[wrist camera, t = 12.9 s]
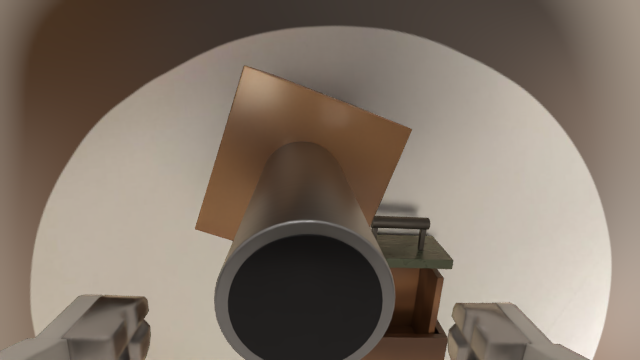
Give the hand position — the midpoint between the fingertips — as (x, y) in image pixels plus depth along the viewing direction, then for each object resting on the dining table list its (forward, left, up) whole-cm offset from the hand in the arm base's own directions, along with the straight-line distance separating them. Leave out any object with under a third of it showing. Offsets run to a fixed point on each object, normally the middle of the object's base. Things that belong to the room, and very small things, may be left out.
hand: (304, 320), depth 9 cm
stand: (0, 0, -36) cm, 36 cm away
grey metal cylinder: (0, 0, -14) cm, 14 cm away
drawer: (+14, +17, -35) cm, 41 cm away
